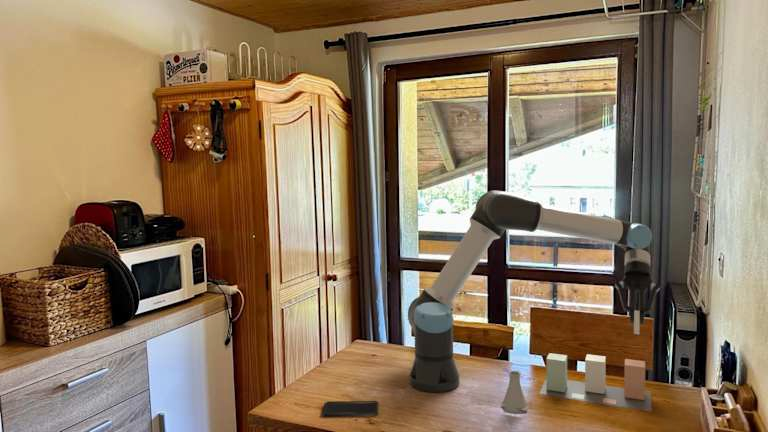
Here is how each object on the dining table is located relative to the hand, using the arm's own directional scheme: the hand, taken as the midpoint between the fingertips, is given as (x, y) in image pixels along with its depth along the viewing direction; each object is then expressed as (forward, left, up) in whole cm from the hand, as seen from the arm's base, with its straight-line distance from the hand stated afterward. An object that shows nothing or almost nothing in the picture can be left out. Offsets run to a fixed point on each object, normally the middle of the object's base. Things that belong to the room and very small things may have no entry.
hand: (636, 331), depth 155 cm
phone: (-70, -50, -16) cm, 87 cm away
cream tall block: (-10, -15, -14) cm, 23 cm away
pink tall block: (0, -15, -14) cm, 20 cm away
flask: (-29, -32, -16) cm, 46 cm away
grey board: (-10, -17, -15) cm, 25 cm away
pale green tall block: (-20, -18, -14) cm, 30 cm away
